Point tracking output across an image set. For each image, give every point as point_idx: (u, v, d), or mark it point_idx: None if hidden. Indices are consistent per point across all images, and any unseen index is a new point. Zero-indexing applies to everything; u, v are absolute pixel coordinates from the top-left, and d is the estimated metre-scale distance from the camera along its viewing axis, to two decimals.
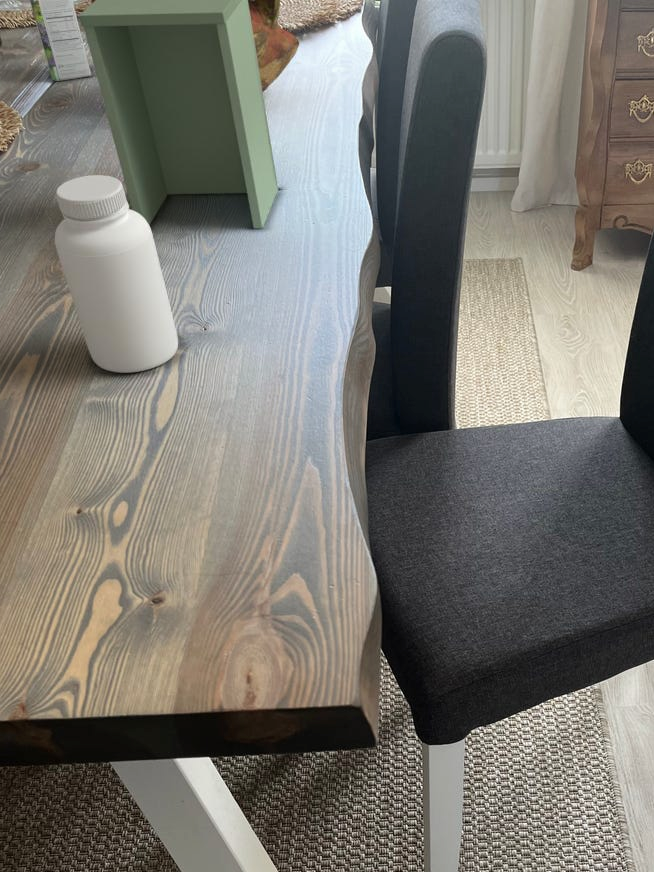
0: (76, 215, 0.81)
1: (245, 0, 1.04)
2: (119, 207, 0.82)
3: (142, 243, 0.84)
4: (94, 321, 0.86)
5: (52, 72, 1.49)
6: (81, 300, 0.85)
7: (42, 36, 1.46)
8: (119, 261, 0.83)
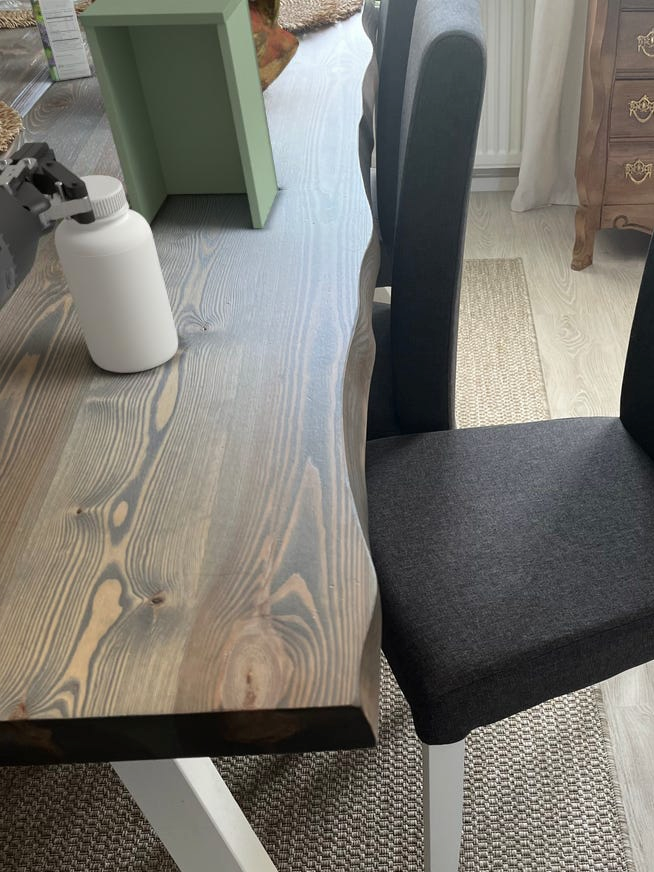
0: None
1: (245, 0, 1.04)
2: (119, 207, 0.82)
3: (142, 243, 0.84)
4: (94, 321, 0.86)
5: (52, 72, 1.49)
6: (81, 300, 0.85)
7: (42, 36, 1.46)
8: (119, 261, 0.83)
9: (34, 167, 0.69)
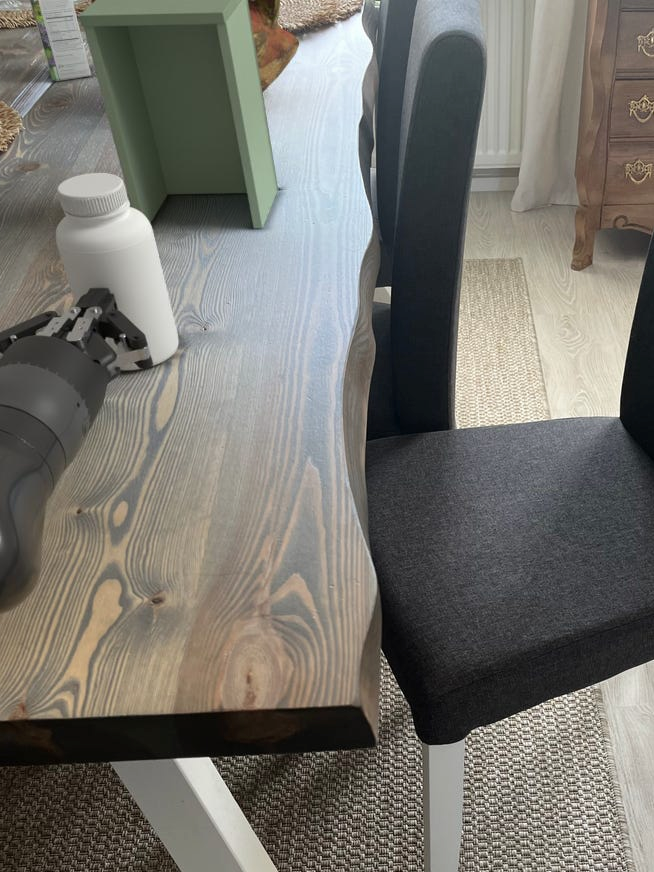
0: (77, 211, 0.81)
1: (245, 0, 1.04)
2: (120, 204, 0.82)
3: (143, 240, 0.84)
4: None
5: (52, 72, 1.49)
6: None
7: (42, 36, 1.46)
8: (120, 257, 0.83)
9: (100, 316, 0.80)
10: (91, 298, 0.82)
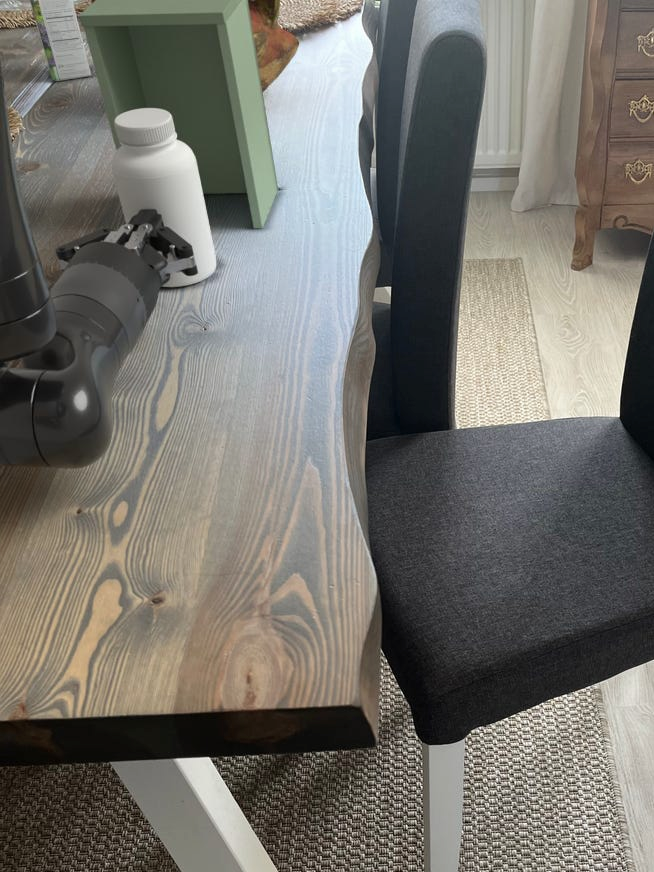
0: (131, 141, 0.93)
1: (245, 0, 1.04)
2: (168, 135, 0.93)
3: (187, 169, 0.95)
4: None
5: (52, 72, 1.49)
6: None
7: (42, 36, 1.46)
8: (167, 183, 0.94)
9: (150, 231, 0.92)
10: (142, 217, 0.94)
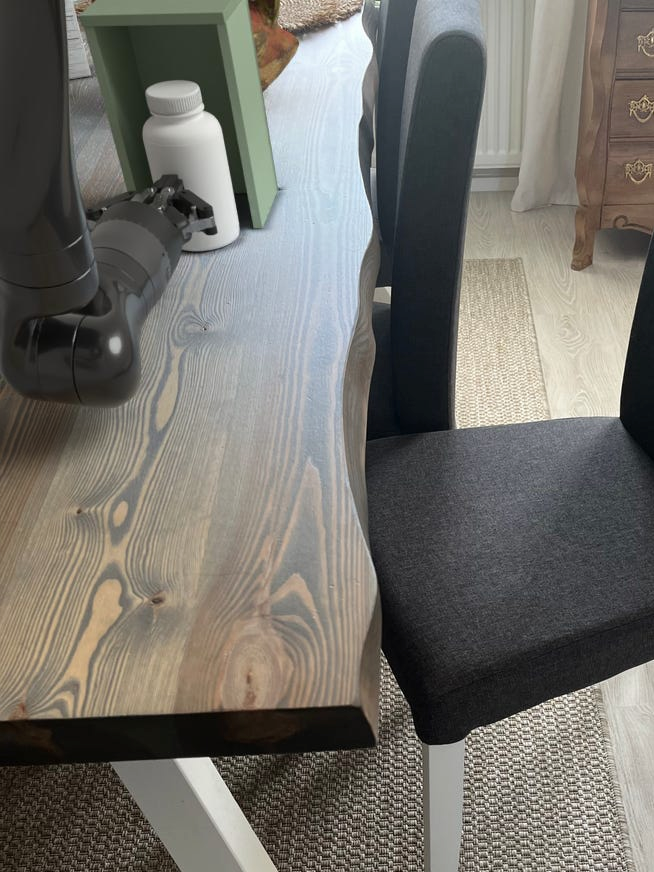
0: (157, 110, 0.98)
1: (245, 0, 1.04)
2: (193, 107, 0.99)
3: (209, 140, 1.01)
4: None
5: None
6: None
7: None
8: (188, 152, 1.00)
9: (173, 194, 0.98)
10: (164, 181, 1.00)
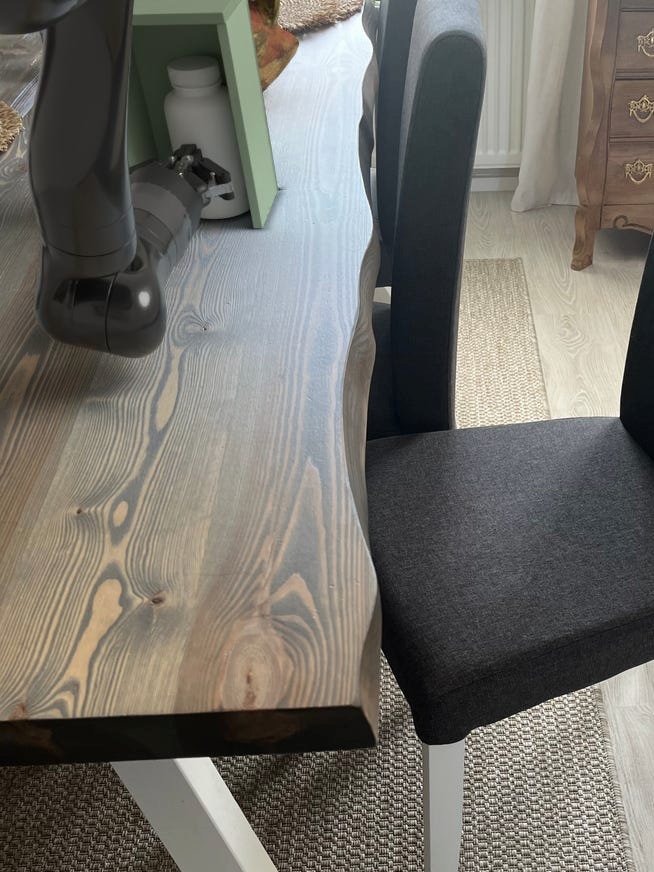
0: (178, 82, 1.04)
1: (245, 0, 1.04)
2: (212, 80, 1.05)
3: (226, 112, 1.06)
4: None
5: None
6: None
7: (42, 36, 1.46)
8: (206, 123, 1.06)
9: (192, 162, 1.04)
10: (184, 150, 1.06)
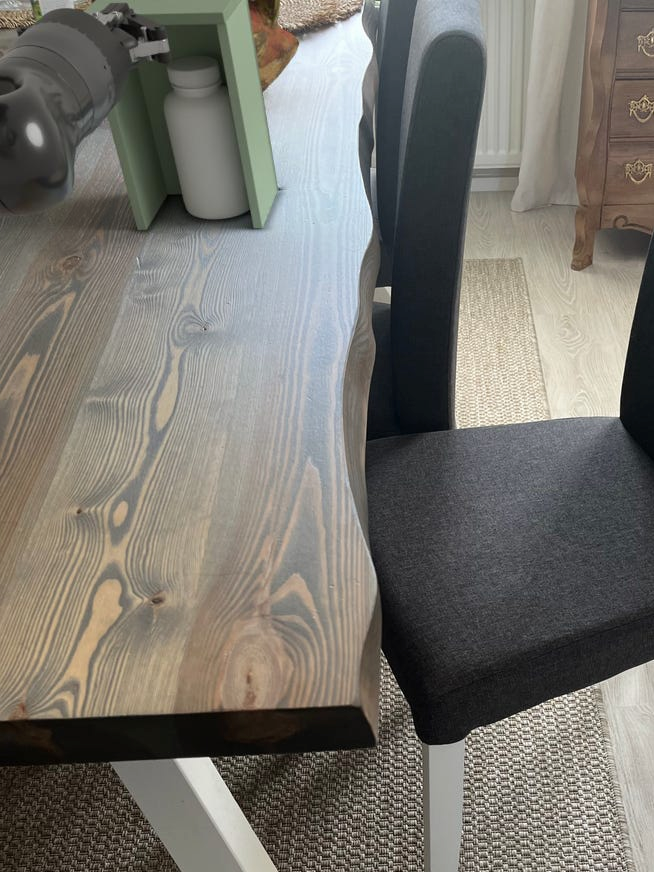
0: (178, 83, 1.04)
1: (245, 0, 1.04)
2: (211, 80, 1.05)
3: (226, 112, 1.06)
4: (185, 172, 1.10)
5: None
6: (177, 153, 1.09)
7: None
8: (206, 123, 1.06)
9: (121, 18, 0.85)
10: (112, 8, 0.87)
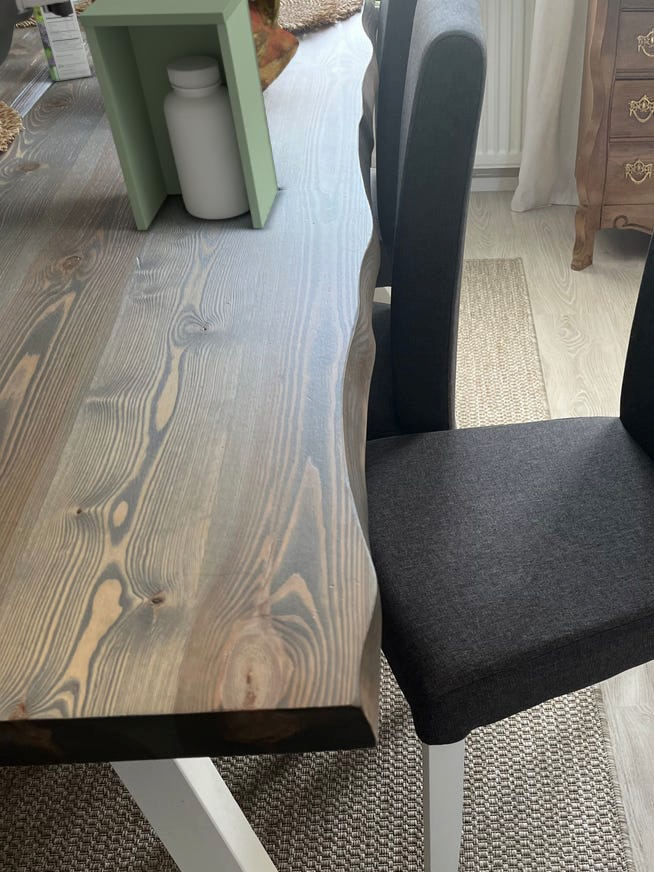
0: (178, 83, 1.04)
1: (245, 0, 1.04)
2: (211, 80, 1.05)
3: (226, 112, 1.06)
4: (185, 172, 1.10)
5: (52, 72, 1.49)
6: (177, 153, 1.09)
7: (42, 36, 1.46)
8: (206, 123, 1.06)
9: None
10: None
